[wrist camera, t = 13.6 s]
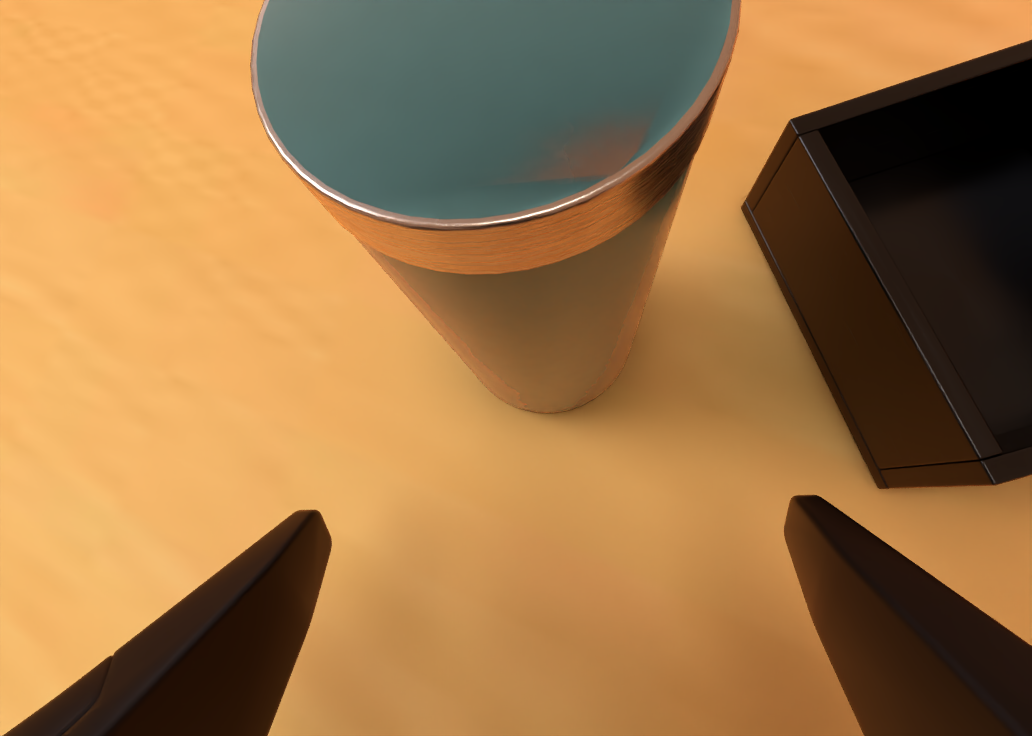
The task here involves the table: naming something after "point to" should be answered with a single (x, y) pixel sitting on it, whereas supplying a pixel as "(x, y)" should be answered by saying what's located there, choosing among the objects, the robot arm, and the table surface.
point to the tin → (502, 161)
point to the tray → (915, 266)
